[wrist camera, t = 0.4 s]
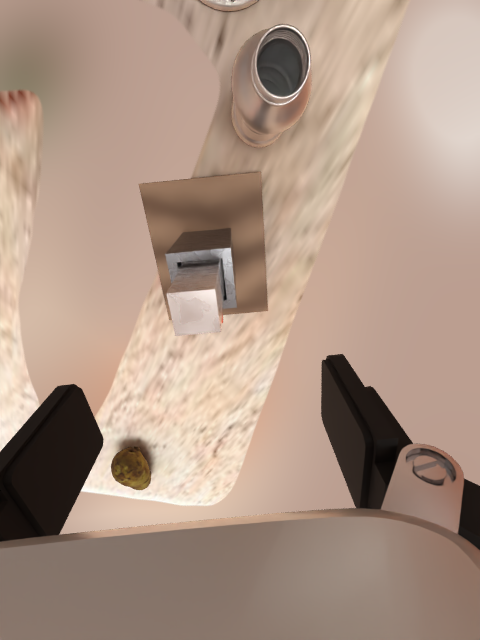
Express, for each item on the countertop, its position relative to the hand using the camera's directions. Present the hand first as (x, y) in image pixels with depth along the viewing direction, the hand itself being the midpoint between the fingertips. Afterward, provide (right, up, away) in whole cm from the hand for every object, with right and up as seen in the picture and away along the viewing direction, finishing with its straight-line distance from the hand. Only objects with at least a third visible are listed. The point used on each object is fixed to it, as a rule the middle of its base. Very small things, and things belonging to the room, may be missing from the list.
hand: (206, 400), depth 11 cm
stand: (-3, +13, +32) cm, 35 cm away
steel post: (-3, +13, +30) cm, 33 cm away
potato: (-21, -27, +52) cm, 62 cm away
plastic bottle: (+3, +28, +25) cm, 38 cm away
